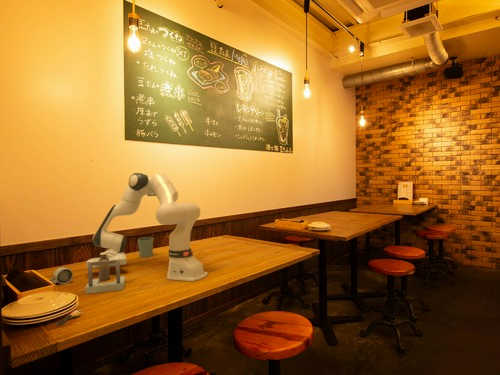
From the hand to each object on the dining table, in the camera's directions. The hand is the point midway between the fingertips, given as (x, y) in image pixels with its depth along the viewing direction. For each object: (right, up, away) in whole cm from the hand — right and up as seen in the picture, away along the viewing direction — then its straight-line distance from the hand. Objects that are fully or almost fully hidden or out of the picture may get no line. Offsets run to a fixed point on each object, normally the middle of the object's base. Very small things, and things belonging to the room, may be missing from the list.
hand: (104, 265), depth 166 cm
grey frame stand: (+7, -7, -14) cm, 18 cm away
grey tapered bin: (+6, -6, +48) cm, 48 cm away
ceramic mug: (-20, -8, -6) cm, 22 cm away
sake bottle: (+1, -7, -2) cm, 7 cm away
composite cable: (+9, -9, -49) cm, 50 cm away
